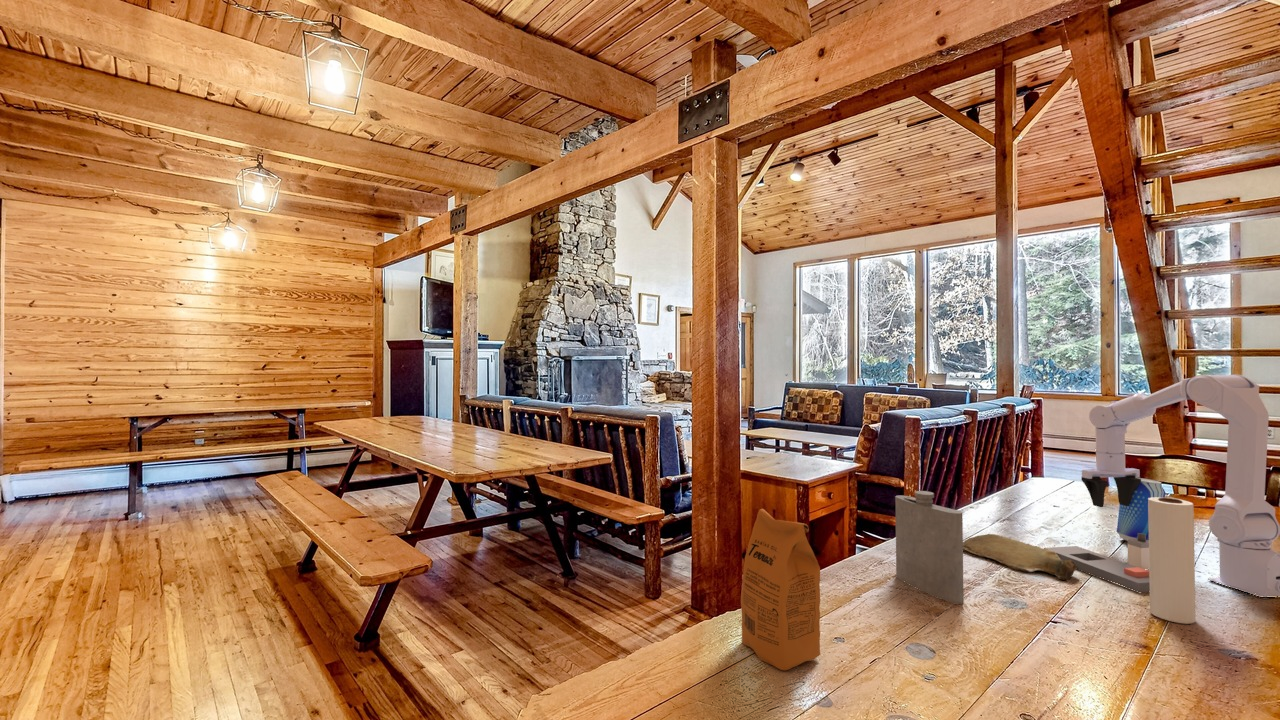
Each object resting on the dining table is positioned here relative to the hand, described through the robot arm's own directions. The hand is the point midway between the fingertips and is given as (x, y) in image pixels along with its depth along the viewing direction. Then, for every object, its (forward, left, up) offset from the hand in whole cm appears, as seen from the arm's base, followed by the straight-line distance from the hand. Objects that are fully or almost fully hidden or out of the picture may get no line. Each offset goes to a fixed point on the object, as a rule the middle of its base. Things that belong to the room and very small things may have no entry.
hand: (1111, 505), depth 142 cm
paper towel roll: (-37, +29, -10) cm, 48 cm away
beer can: (0, -8, -10) cm, 13 cm away
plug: (-15, +9, -10) cm, 20 cm away
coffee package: (-37, +105, -10) cm, 111 cm away
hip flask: (-18, +65, -10) cm, 68 cm away
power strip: (-16, +20, -10) cm, 27 cm away
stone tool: (-7, +34, -11) cm, 36 cm away
